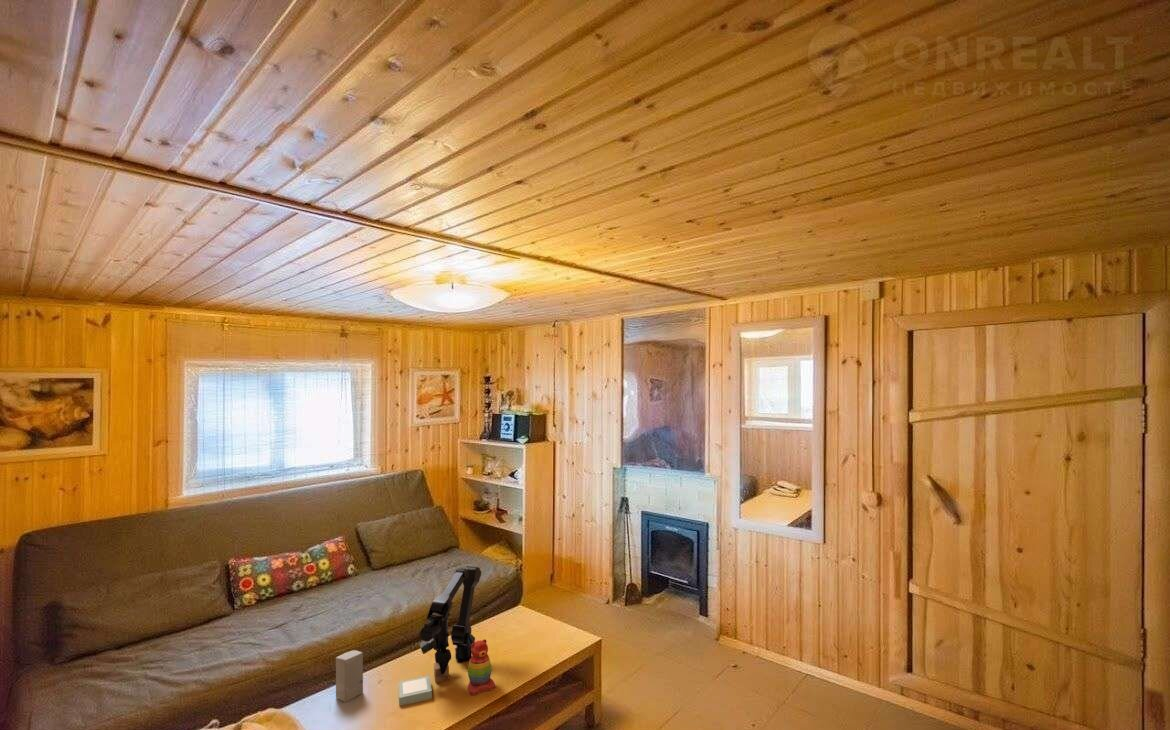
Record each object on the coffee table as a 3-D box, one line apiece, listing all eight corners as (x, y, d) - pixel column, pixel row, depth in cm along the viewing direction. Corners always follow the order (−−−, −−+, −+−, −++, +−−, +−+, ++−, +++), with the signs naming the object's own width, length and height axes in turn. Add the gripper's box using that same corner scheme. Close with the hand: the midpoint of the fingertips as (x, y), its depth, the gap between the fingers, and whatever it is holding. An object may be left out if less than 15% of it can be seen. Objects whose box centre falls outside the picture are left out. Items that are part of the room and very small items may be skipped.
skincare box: (345, 703, 204) (345, 661, 205) (334, 698, 208) (334, 657, 208) (364, 692, 211) (364, 652, 212) (353, 687, 215) (353, 647, 216)
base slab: (429, 683, 217) (429, 675, 217) (431, 698, 205) (431, 690, 205) (398, 689, 212) (398, 681, 212) (399, 705, 201) (399, 697, 201)
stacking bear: (470, 696, 206) (469, 650, 207) (463, 684, 215) (463, 639, 216) (497, 688, 211) (496, 643, 212) (489, 677, 220) (488, 633, 221)
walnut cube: (447, 673, 224) (447, 660, 224) (449, 680, 219) (448, 666, 219) (434, 676, 222) (434, 663, 222) (435, 683, 217) (435, 669, 217)
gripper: (419, 625, 227) (420, 662, 226) (422, 644, 210) (422, 684, 209) (446, 620, 231) (446, 656, 230) (451, 638, 214) (451, 678, 213)
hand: (441, 668), depth 220 cm, fingers open, 9 cm apart
